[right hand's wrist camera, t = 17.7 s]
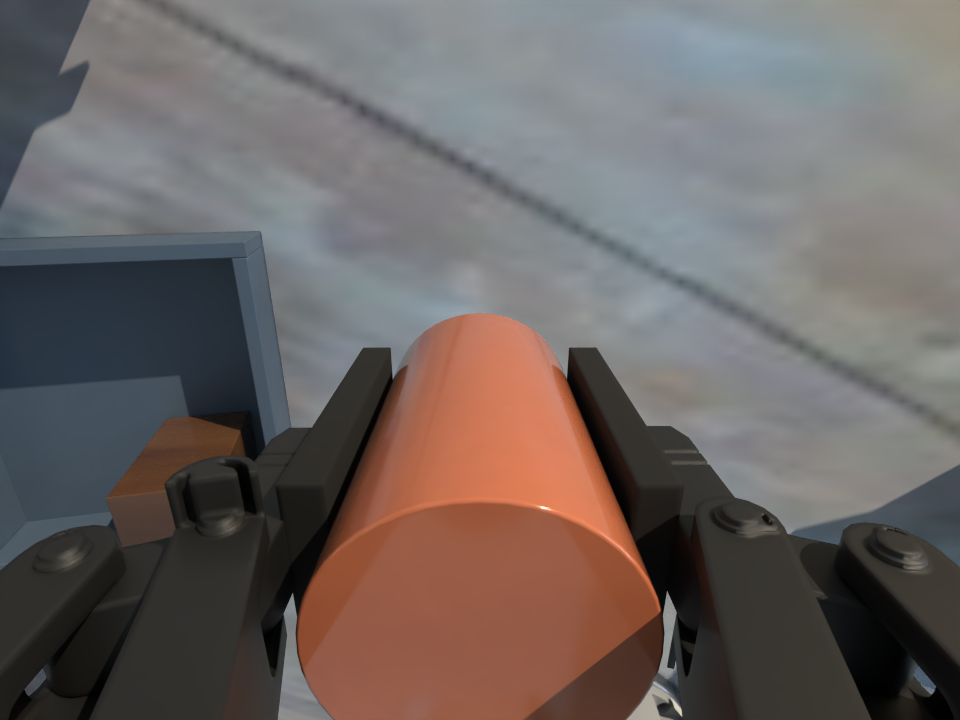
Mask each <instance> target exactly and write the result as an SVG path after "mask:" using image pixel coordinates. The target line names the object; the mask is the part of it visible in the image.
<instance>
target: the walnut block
mask: <svg viewBox="0 0 960 720" xmlns="http://www.w3.org/2000/svg"><path fill="white" fill-rule="evenodd" d="M227 455H238V456H242V457H247V458H250V459H251V460H252V461H255V460H256V459H257V457H258V453H257V447H256V442H255V437H254V432H253V427H252V421H251V416H250V412H249V411H241V412H231V413H221V414H210V415H200V416H190V417H179V418H169V419H166V420H165V421H164V423H163V424H162V425H161V427H160V428H159V429H158V431H157V432H156V433H155V435H154V436H153V437H152V438H151V440H150V441H149V442H148V444H147V445H146V446H145V448H144V449H143V450H142V452H141V453H140V454H139V455H138V457H137V458H136V459H135V461H134V462H133V463H132V465H131V466H130V467H129V469H128V470H127V471H126V472H125V474H124V475H123V476H122V478H121V479H120V480H119V482H118V483H117V484H116V486H115V487H114V488H113V489H112V491H111V492H110V493H109V495H108V496H107V497H106V501H107V504H108V507H109V510H110V513H111V516H112V519H113V522H114V525H115V528H116V531H117V534H118V537H119V540H120V543H121V546H122V547H126V546H131V545H136V544H141V543H146V542H151V541H156V540H160V539H164V538H168V537H172V535H173V533H174V531H175V529H176V528H175V524H174V520H173V516H172V512H171V509H170V505H169V501H168V497H167V493H166V489H165V485H164V483H165V482H166V481H167V480H168V479H169V478H170V477H171V476H172V474H174V473H176V472H177V471H179V470H180V469H182V468H184V467H185V466H187V465H190V464H192V463H195V462H197V461H200V460H203V459H207V458H212V457H217V456H227Z"/></svg>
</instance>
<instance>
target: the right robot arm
mask: <svg viewBox="0 0 960 720" xmlns="http://www.w3.org/2000/svg"><path fill="white" fill-rule="evenodd" d="M392 381H393V378H392V363H391V348H363V349H362V351H361V352H360V354H359V355H358V357H357V358H356V360H355V362H354V363H353V365H352V366H351V368H350V369H349V371H348V372H347V374H346V376H345V377H344V379H343V380H342V382H341V383H340V385H339V386H338V388H337V390H336V391H335V393H334V394H333V396H332V397H331V399H330V400H329V402H328V404H327V405H326V407H325V408H324V410H323V411H322V413H321V415H320V416H319V418H318V419H317V421H316V422H315V424H314V425H313V427H312V428H288V429H287V430H285V431H284V432H282V433H280V434H279V435H277V436H276V437H274V438H273V439H271V440H270V442H269V443H268V444H267V446H266V447H265V448H264V450H263V451H262V452H261V455H259V456H258V457H257V459H256V460H255V461H252V460H251V459H250V458H247V457H242V456H238V455H227V456H217V457H212V458H207V459H203V460H200V461H197V462H195V463H192V464H190V465H187V466H185V467H184V468H182V469H180V470H179V471H177V472H176V473H174V474H172V476H171V477H170V478H169V479H168V480H167V481H166V482H165V483H164V485H165V489H166V493H167V497H168V501H169V505H170V509H171V512H172V516H173V520H174V524H175V528H176V529H175V531H174V533H173V535H172V537H168V538H164V539H160V540H156V541H151V542H146V543H141V544H136V545H131V546H126V547H122V548H121V544H120V541H119V538H118V535H117V532H115V531H114V530H113V529H111V528H110V527H108V526H101V525H89V526H81V527H74V528H70V529H68V530H63V531H60V532H57V533H55V534H53V535H51V536H49V537H47V538H45V539H43V540H41V541H39V542H37V543H35V544H34V545H32V546H31V547H29V548H28V549H26V550H25V551H23V552H22V553H20V554H19V555H18V556H17V557H15V558H14V559H13V560H12V561H11V562H10V563H8V564H7V565H6V566H5V567H4V568H3V569H1V570H0V720H278V711H279V702H280V693H281V684H282V675H283V666H284V657H285V648H286V639H287V632H286V625H285V620H284V614H283V613H284V611H285V609H286V607H287V604H288V602H289V600H290V597H291V595H292V593H293V595H294V601H295V607H296V613H297V614H298V611H299V607H300V604H301V600H302V597H303V594H304V592H305V589H306V587H307V585H308V582H309V580H310V577H311V575H312V573H313V570H314V568H315V565H316V563H317V561H318V558H319V556H320V554H321V551H322V549H323V546H324V544H325V542H326V539H327V537H328V534H329V532H330V530H331V527H332V525H333V522H334V520H335V518H336V515H337V513H338V510H339V508H340V506H341V503H342V501H343V498H344V496H345V494H346V491H347V489H348V486H349V484H350V482H351V479H352V477H353V474H354V472H355V470H356V467H357V465H358V462H359V460H360V458H361V455H362V453H363V451H364V448H365V446H366V443H367V441H368V439H369V436H370V434H371V431H372V429H373V427H374V424H375V422H376V419H377V417H378V415H379V412H380V410H381V407H382V405H383V403H384V400H385V398H386V395H387V393H388V391H389V388H390V386H391V383H392ZM567 381H568V383H569V386H570V388H571V391H572V393H573V395H574V398H575V400H576V403H577V405H578V407H579V410H580V412H581V414H582V417H583V419H584V422H585V424H586V426H587V429H588V431H589V434H590V436H591V438H592V441H593V443H594V446H595V448H596V450H597V453H598V455H599V458H600V460H601V462H602V465H603V467H604V470H605V472H606V474H607V477H608V479H609V482H610V484H611V486H612V489H613V491H614V494H615V496H616V498H617V501H618V503H619V506H620V508H621V510H622V513H623V515H624V517H625V520H626V522H627V525H628V527H629V529H630V532H631V534H632V537H633V539H634V541H635V544H636V546H637V549H638V551H639V553H640V556H641V558H642V561H643V563H644V565H645V568H646V570H647V573H648V575H649V577H650V580H651V582H652V585H653V587H654V589H655V592H656V594H657V597H658V600H659V604H660V607H661V611H662V614H663V611H664V605H665V599H666V593H667V591H668V593H669V596H670V598H671V600H672V602H673V605H674V607H675V609H676V612H677V614H676V620H675V625H674V631H673V636H672V642H671V647H670V653H669V659H668V665H667V667H668V668H672V669H674V667H675V661H676V665H677V674H678V683H679V692H680V700H681V704H680V702H679V699H678V696H677V694H676V692H675V690H674V688H673V687H672V686H671V684H670V683H669V682H668V681H667V680H666V679H665V678H664V677H662V676H661V675H660V674H658V673H657V675H656V677H655V680H654V682H653V684H652V686H651V688H650V690H649V691H648V693H647V695H646V696H645V698H644V699H643V701H642V702H641V704H640V705H639V706H638V707H637V708H636V710H635V711H634V712H633V713H632V714H631V715H630V717H629V718H627V719H626V720H960V567H959V566H957V565H956V564H955V563H954V562H953V561H952V560H950V559H949V558H948V557H947V556H946V555H944V554H943V553H942V552H941V551H939V550H938V549H936V548H935V547H933V546H932V545H930V544H929V543H928V542H926V541H925V540H923V539H920V538H918V537H916V536H914V535H912V534H910V533H908V532H907V531H904V530H901V529H899V528H896V527H895V528H893V527H892V526H888V525H882V524H874V523H866V522H865V523H857V524H851V525H850V526H848V527H847V528H846V529H845V530H843V533H842V537H841V540H840V543H839V545H835V544H830V543H825V542H820V541H815V540H810V539H805V538H801V537H797V536H793V535H789V534H787V532H786V530H785V528H784V526H783V525H782V524H781V522H780V521H779V520H778V519H777V517H775V516H774V515H773V514H771V513H770V512H769V511H767V510H766V509H764V508H763V507H760V506H758V505H756V504H754V503H751V502H749V501H746V500H742V499H738V498H735V497H734V496H733V495H732V493H731V492H730V491H729V490H728V488H727V487H726V486H725V484H724V483H723V482H722V480H721V479H720V478H719V477H718V475H717V474H716V473H715V471H714V470H713V469H712V467H711V466H710V465H707V461H706V460H705V458H704V457H703V456H702V454H701V453H699V451H698V449H697V448H696V447H695V445H694V444H693V443H692V441H691V440H690V439H689V438H688V437H687V436H685V435H684V434H682V433H681V432H679V431H677V430H676V429H674V428H673V427H671V426H646V424H645V423H644V421H643V420H642V418H641V417H640V415H639V413H638V412H637V410H636V409H635V407H634V406H633V404H632V403H631V401H630V399H629V398H628V396H627V395H626V393H625V392H624V390H623V389H622V387H621V385H620V384H619V382H618V381H617V379H616V378H615V376H614V374H613V373H612V371H611V370H610V368H609V367H608V365H607V364H606V362H605V360H604V359H603V357H602V356H601V354H600V353H599V351H598V350H597V348H569V358H568V373H567ZM917 666H919V667H920V668H921V669H922V670H923V671H924V673H925V674H926V675H927V676H928V677H929V678H930V680H931V681H932V682H933V683H934V684H935V685H936V686H937V687H936V689H935V691H934V693H933V694H930V693H929V692H928V691H927V690H926V689H925V688H924V687H923V686H922V685H921V684H920V683H919V682H918V680H917V679H916V678H915V677H914V673H915V671H916V668H917ZM42 668H43V670H44V672H45V674H46V677H47V678H46V680H45V681H44V682H43V683H42V684H41V686H40V687H39V688H38V689H37V690H36V691H35V692H33V693H32V694H31V695H30V696H28V695H27V694H26V692H25V690H24V689H25V688H26V687H27V685H28V684H29V683H30V682H31V681H32V680H33V678H34V677H35V676H36V675H37V674H38V673H39V671H40V670H41V669H42Z"/></svg>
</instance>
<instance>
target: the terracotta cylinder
mask: <svg viewBox="0 0 960 720" xmlns="http://www.w3.org/2000/svg"><path fill="white" fill-rule="evenodd" d="M296 643H297V654H298V658H299V662H300V666H301V670H302V673H303V675H304V677H305V679H306V682H307V684H308V686H309V688H310V690H311V691H312V693H313V694H314V696H315V698H316V699H317V701H318V702H319V704H320V705H321V706H322V707H323V708H324V709H325V711H326V712H327V713H328V714H329V715H330V716H331V718H333V719H334V720H626V719H627V718H629V717H630V715H631V714H632V713H633V712H634V711H635V710H636V708H637V707H638V706H639V705H640V704H641V702H642V701H643V699H644V698H645V696H646V695H647V693H648V691H649V690H650V688H651V686H652V684H653V682H654V680H655V677H656V675H657V673H658V670H659V666H660V662H661V658H662V655H663V644H664V624H663V614H662V611H661V607H660V604H659V600H658V597H657V594H656V592H655V589H654V587H653V585H652V582H651V580H650V577H649V575H648V573H647V570H646V568H645V565H644V563H643V561H642V558H641V556H640V553H639V551H638V549H637V546H636V544H635V541H634V539H633V537H632V534H631V532H630V529H629V527H628V525H627V522H626V520H625V517H624V515H623V513H622V510H621V508H620V506H619V503H618V501H617V498H616V496H615V494H614V491H613V489H612V486H611V484H610V482H609V479H608V477H607V474H606V472H605V470H604V467H603V465H602V462H601V460H600V458H599V455H598V453H597V450H596V448H595V446H594V443H593V441H592V438H591V436H590V434H589V431H588V429H587V426H586V424H585V422H584V419H583V417H582V414H581V412H580V410H579V407H578V405H577V403H576V400H575V398H574V395H573V393H572V391H571V388H570V386H569V383H568V381H567V379H566V376H565V374H564V371H563V369H562V367H561V364H560V362H559V360H558V358H557V356H556V354H555V353H554V351H553V350H552V348H551V347H550V346H549V345H548V344H547V342H546V341H545V340H544V339H543V338H542V337H541V336H540V335H538V334H537V333H536V332H535V331H533V330H532V329H530V328H529V327H527V326H526V325H524V324H522V323H520V322H518V321H516V320H513V319H510V318H507V317H504V316H499V315H494V314H482V313H478V314H466V315H461V316H456V317H453V318H450V319H447V320H444V321H442V322H440V323H438V324H436V325H434V326H433V327H431V328H430V329H428V330H427V331H425V332H424V333H423V334H422V335H420V336H419V337H418V338H417V339H416V340H415V341H414V342H413V344H412V345H411V346H410V347H409V348H408V350H407V351H406V353H405V355H404V356H403V358H402V360H401V362H400V364H399V367H398V369H397V371H396V374H395V376H394V379H393V381H392V383H391V386H390V388H389V391H388V393H387V395H386V398H385V400H384V403H383V405H382V407H381V410H380V412H379V415H378V417H377V419H376V422H375V424H374V427H373V429H372V431H371V434H370V436H369V439H368V441H367V443H366V446H365V448H364V451H363V453H362V455H361V458H360V460H359V462H358V465H357V467H356V470H355V472H354V474H353V477H352V479H351V482H350V484H349V486H348V489H347V491H346V494H345V496H344V498H343V501H342V503H341V506H340V508H339V510H338V513H337V515H336V518H335V520H334V522H333V525H332V527H331V530H330V532H329V534H328V537H327V539H326V542H325V544H324V546H323V549H322V551H321V554H320V556H319V558H318V561H317V563H316V565H315V568H314V570H313V573H312V575H311V577H310V580H309V582H308V585H307V587H306V589H305V592H304V594H303V597H302V600H301V604H300V607H299V611H298V614H297V624H296Z"/></svg>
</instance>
